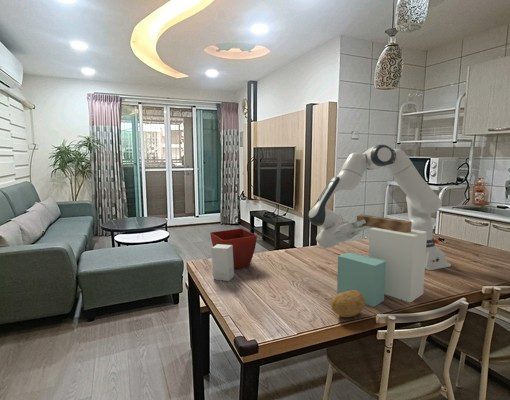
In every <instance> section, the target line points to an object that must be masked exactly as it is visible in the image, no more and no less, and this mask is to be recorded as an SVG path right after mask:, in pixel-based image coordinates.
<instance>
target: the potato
mask: <svg viewBox="0 0 510 400" xmlns="http://www.w3.org/2000/svg"><path fill="white" fill-rule="evenodd" d="M365 306H366V304H365V299H364V297H363V295H362V294H361V293H360V292H359V291H356V290H351V291H346V292H341V293H339V294H337V293H336V295H335V296H334V297H332V299H331V303H330V307H331V309H332V310H333V312H334V314H337V315H338V316H339V317H341V318H351V317H355V316H357V315H359V314H361V312H362V311H364V308H365Z"/></svg>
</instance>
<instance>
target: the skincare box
mask: <svg viewBox="0 0 510 400" xmlns="http://www.w3.org/2000/svg"><path fill="white" fill-rule="evenodd" d="M211 256H212V257H211V259H212V261H211V262H212V277H213V279H216V280H215V281H222V280H223V282H230V281H231V280H232V279H233V278H234V277H235V269H234V264H233V245H222V244H217V245H215V246H214V247H213V246H212V247H211ZM213 279H212V280H213Z"/></svg>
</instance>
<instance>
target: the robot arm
mask: <svg viewBox="0 0 510 400" xmlns="http://www.w3.org/2000/svg"><path fill="white" fill-rule="evenodd" d="M383 167H384V168H386V169H387V170H388V171H389V173H390V175H391V176H392V178H393V179H394V181H395V182H396V185H398V187H399V188H400V189H401V191H402V192H403V193H404V194H405V195H406V196H405V201H406V204H407V217H408V221H412V226H411V229H413V230H420V231H426V232H427V242H426V258H425V270H429V271H434V270H439V269H444V268H450V267H452V264H451V263H450V262H448V261H447V257H446V254H445V252H444V251H442V250H441V249H440V248H439V247H437V245H438V244H439V243H440V242H441V241H440V239H436V238H435V239H434V238H433V235H434V234H433V232H434V223H433V219H432V214H434V213H436V212H438V211H439V210H440V208H441V206H442V205H441V204H442V202H441V199H440V197H439V196H438V195H437V194H436V192H435V191H434V189H432V188H431V186H430V185H429V184H428V182H426V180H425V179H424V178H423V177H422V176H421V174H420V173H419V171H418V170H417V168H416V166H415V165H414V163H413V162H412V160H411V159H410V158H409V157H408V155H407V154H406V153H405V152H404V151H403V150H402V149H400V148H392V147H391V146H388V145H387V144H377V145H374V146H372V147H369V148H368V149H366V150H364V151H363V152H362V153H361V152H351V153H350V154H349V155H348V156H347V158H346V159H345V161H344V162H343V165H342V167H341V169H340V171H339V173H338V174H337V175H336V176H334V177H331V179H330V180H329V181H328V182H327V184H326V186H325V187H324V189H323V190H322V192H321V194H320V195H319V197H318V199H317V200H316V202H315V203H314V204H313V206H312V207H310V209H309V211H308V214H307V215H308V221H309V222H310V224H311V225H314V226H316V227H319V228H321V230H320V232H319V233H318V234H317V235H316V238H315V240H316V242H317V244H318V245H319V246H320V247H322V248H323V249H328V248H332V247H335V246H337V245H339V244H341V243H344V242H347V241H349V240H350V241H351V240H352V239H353V238H354V237H356V236H358V235H359V234H361V232H362V231H365V230H366V229H369V228H370V227H369V226H363V224H365V223H367V221H366V219H363V220H361V221H358V222H357V220H355V221H346V220H344V218H343V216H342V215H341V214H339V213H337V212H336V211H333V210H331V209H329V208H328V205H329V204H330V202H331V201H332V198H333V197H334V195H335V194H336V193H337V192H340V191H352V190H355V189H356V188H358V186H359V185H360V183H361V181H362V179H363V177H364V174H365V172H366V170H369V171H371V170H375V169H376V170H377V169H380V168H383ZM436 244H437V245H436Z"/></svg>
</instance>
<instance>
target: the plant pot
mask: <svg viewBox="0 0 510 400" xmlns="http://www.w3.org/2000/svg"><path fill="white" fill-rule="evenodd" d="M257 239H258V235H257V234H255V233H253V232H251V231H248V230H246V229H244V228H235V229H227V230H226V229H225V230H219V231H218V230H217V231H211V232H210V240H211V244H212V247H214V246H215V245H217V244H222V245H233V264H234V270H237V269H240V268H246V267H249V266H250V265H251V262H252V260H253V257H254V254H255V250H256V244H257Z"/></svg>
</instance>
